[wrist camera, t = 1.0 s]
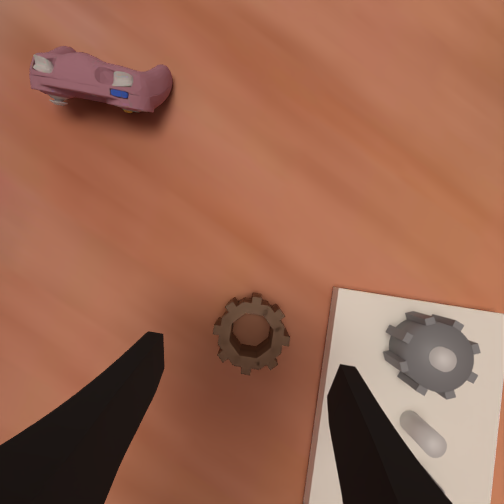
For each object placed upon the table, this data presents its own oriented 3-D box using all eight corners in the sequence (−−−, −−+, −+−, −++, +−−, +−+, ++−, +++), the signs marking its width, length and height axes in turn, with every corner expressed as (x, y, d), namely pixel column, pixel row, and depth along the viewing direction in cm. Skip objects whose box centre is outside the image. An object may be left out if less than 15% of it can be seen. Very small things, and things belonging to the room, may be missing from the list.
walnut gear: (279, 365, 23) (283, 380, 20) (213, 355, 23) (206, 368, 20) (289, 298, 23) (295, 303, 20) (223, 288, 24) (219, 291, 21)
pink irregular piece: (75, 106, 26) (9, 96, 20) (70, 49, 24) (-5, 18, 18) (175, 125, 26) (141, 122, 20) (178, 70, 24) (142, 46, 18)
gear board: (468, 540, 22) (540, 632, 17) (301, 513, 23) (317, 594, 17) (493, 312, 23) (569, 326, 18) (333, 286, 24) (358, 293, 18)
